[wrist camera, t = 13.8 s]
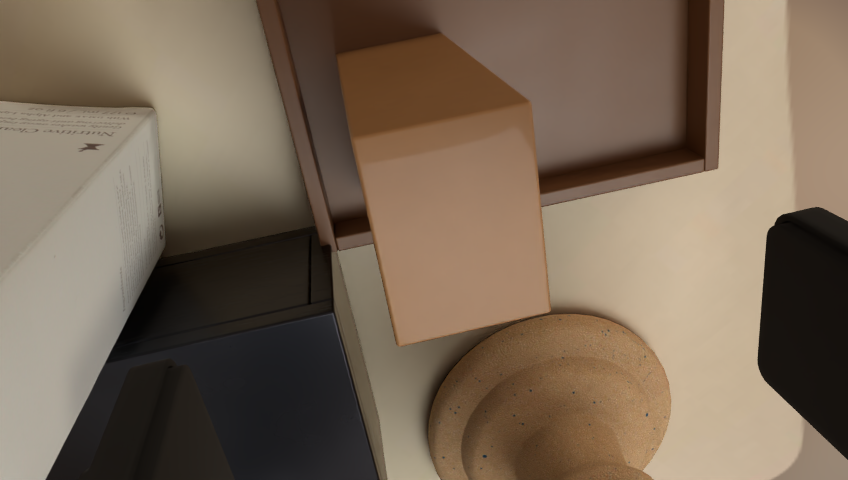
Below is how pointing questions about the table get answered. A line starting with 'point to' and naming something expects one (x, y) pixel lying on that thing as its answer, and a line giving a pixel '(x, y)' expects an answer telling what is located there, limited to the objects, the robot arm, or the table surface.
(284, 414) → the black drawer housing
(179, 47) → the table surface
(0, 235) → the cosmetic box
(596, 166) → the tray
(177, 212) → the table surface
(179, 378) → the robot arm
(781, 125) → the table surface
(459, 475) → the candle holder
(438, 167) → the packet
